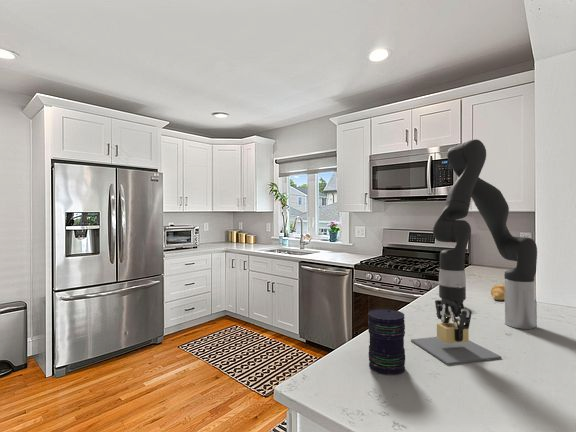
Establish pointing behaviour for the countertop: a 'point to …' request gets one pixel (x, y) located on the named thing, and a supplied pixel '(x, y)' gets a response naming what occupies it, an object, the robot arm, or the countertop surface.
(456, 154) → the robot arm
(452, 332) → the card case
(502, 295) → the croissant
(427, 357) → the countertop surface
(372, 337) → the storage jar
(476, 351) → the mat
